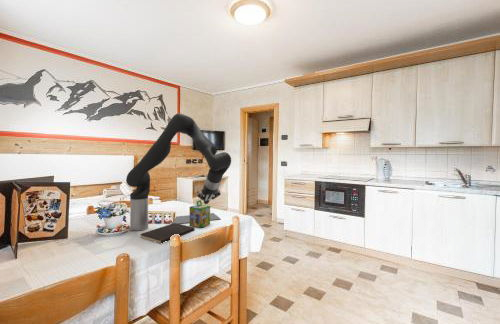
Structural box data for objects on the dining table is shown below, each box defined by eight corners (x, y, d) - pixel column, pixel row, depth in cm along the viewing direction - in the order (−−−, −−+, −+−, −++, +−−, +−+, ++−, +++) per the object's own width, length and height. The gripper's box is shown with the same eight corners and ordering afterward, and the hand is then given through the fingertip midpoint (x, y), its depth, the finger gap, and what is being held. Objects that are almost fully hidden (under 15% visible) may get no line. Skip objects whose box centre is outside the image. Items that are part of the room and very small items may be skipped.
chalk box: (201, 228, 140) (201, 203, 140) (188, 226, 144) (188, 201, 144) (210, 224, 149) (210, 200, 148) (198, 222, 153) (198, 198, 152)
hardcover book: (139, 238, 125) (139, 234, 124) (174, 226, 144) (174, 222, 144) (161, 245, 117) (161, 240, 116) (194, 231, 137) (194, 227, 136)
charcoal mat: (172, 225, 146) (172, 224, 146) (169, 218, 160) (169, 217, 160) (220, 219, 158) (220, 218, 158) (213, 213, 173) (213, 212, 173)
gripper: (223, 177, 127) (216, 196, 139) (197, 177, 121) (192, 197, 133) (226, 188, 122) (218, 207, 134) (200, 190, 117) (194, 209, 128)
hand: (205, 202), depth 133 cm, fingers closed
